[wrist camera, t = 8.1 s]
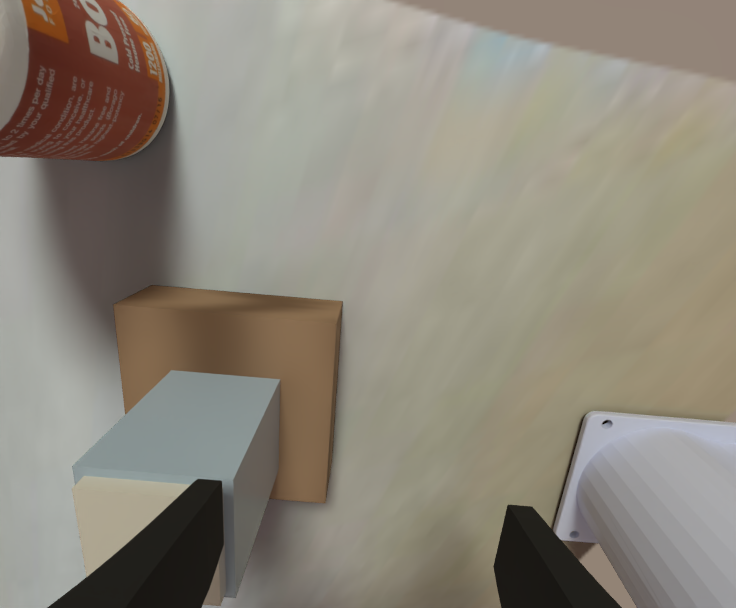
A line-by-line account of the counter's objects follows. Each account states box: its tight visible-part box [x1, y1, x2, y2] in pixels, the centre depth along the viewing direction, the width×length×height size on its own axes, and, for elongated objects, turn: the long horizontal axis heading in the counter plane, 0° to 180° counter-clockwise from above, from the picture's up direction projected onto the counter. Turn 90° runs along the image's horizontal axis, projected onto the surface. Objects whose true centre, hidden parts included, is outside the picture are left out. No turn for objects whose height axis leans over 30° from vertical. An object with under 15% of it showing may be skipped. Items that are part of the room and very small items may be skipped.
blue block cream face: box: [72, 370, 280, 606], centre depth 15 cm, size 5×5×6 cm
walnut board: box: [113, 285, 343, 503], centre depth 20 cm, size 9×9×3 cm
